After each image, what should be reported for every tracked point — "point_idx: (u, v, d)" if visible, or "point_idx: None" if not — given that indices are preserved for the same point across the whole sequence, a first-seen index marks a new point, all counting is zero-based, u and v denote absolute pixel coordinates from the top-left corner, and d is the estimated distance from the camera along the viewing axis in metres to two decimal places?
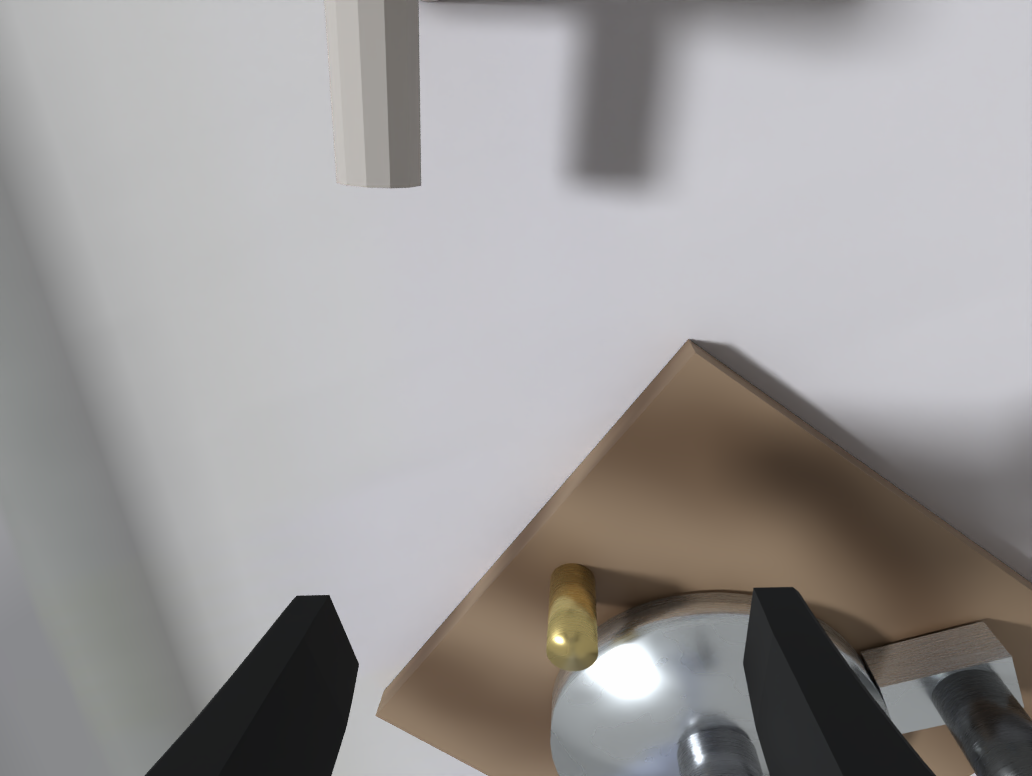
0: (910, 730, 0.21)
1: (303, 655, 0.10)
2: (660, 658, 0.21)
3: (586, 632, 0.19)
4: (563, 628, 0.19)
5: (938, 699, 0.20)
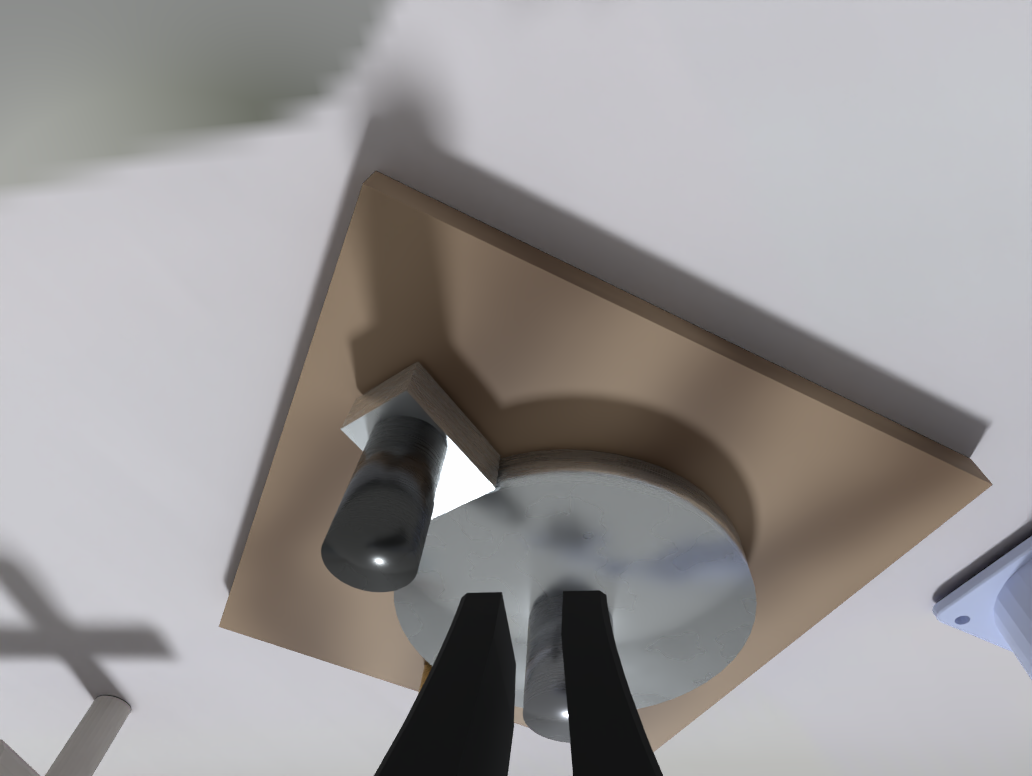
0: (483, 479, 0.18)
1: (493, 654, 0.09)
2: None
3: None
4: None
5: None
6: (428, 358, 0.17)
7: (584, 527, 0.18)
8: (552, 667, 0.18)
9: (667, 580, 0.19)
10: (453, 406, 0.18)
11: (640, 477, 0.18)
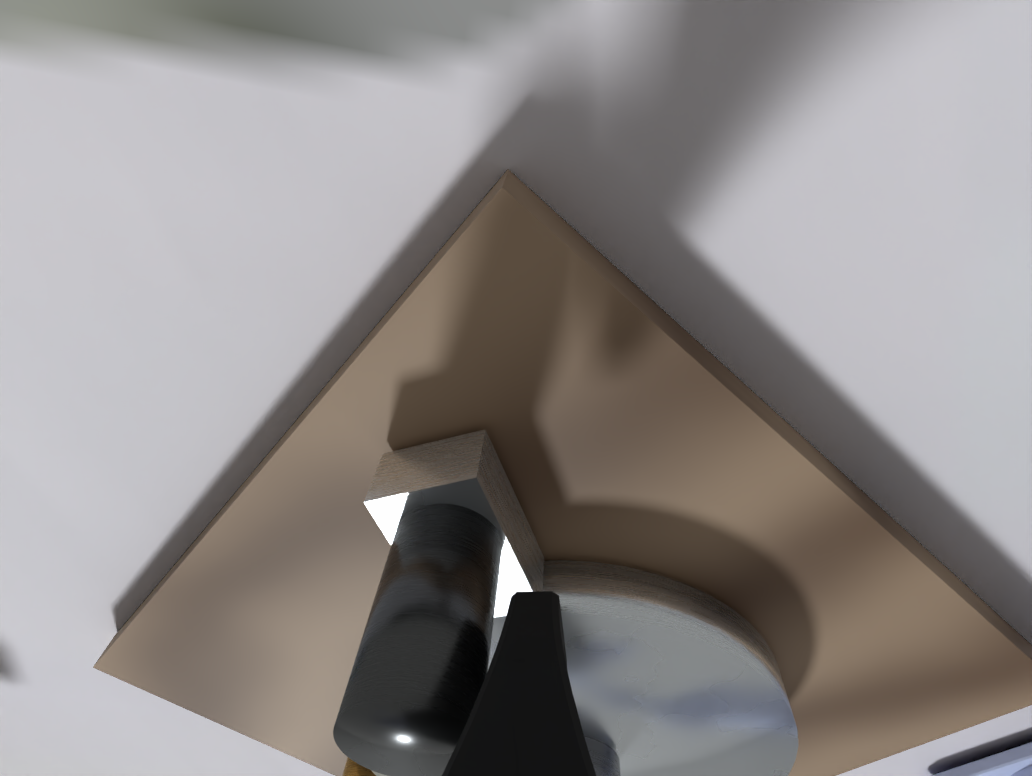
0: None
1: (549, 654, 0.09)
2: None
3: None
4: None
5: None
6: (498, 427, 0.13)
7: (630, 670, 0.15)
8: None
9: (700, 737, 0.16)
10: (511, 492, 0.13)
11: (715, 623, 0.14)
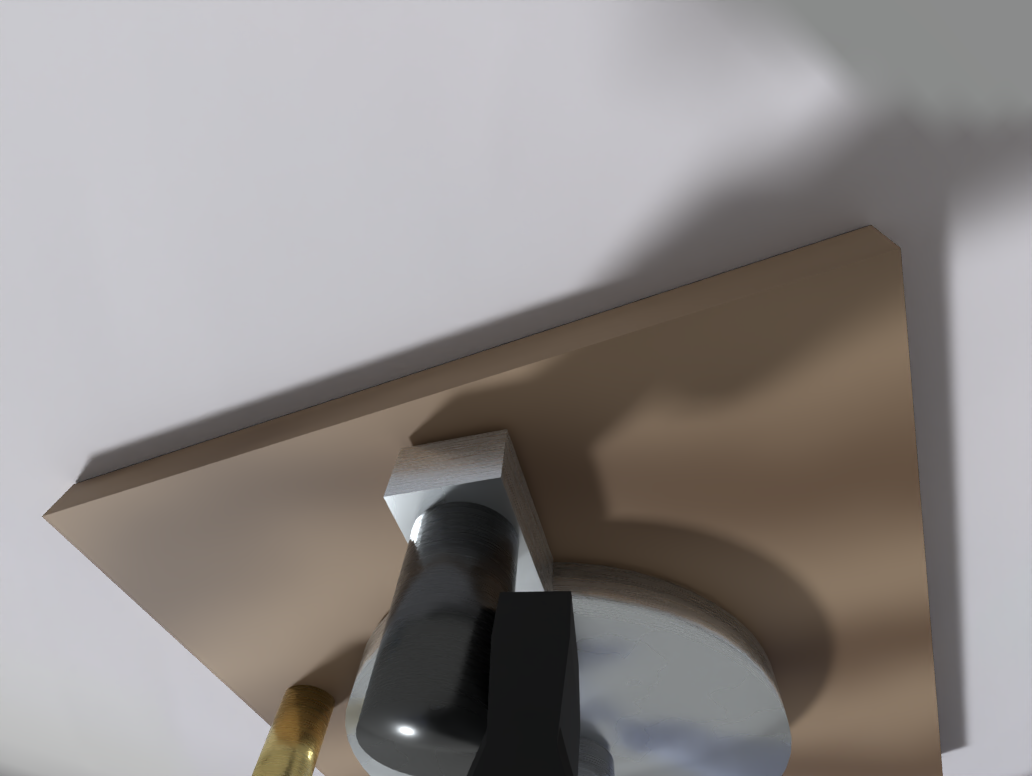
0: None
1: (570, 654, 0.09)
2: None
3: None
4: None
5: None
6: (711, 447, 0.13)
7: (633, 674, 0.15)
8: None
9: (696, 742, 0.16)
10: (527, 493, 0.13)
11: (719, 631, 0.15)
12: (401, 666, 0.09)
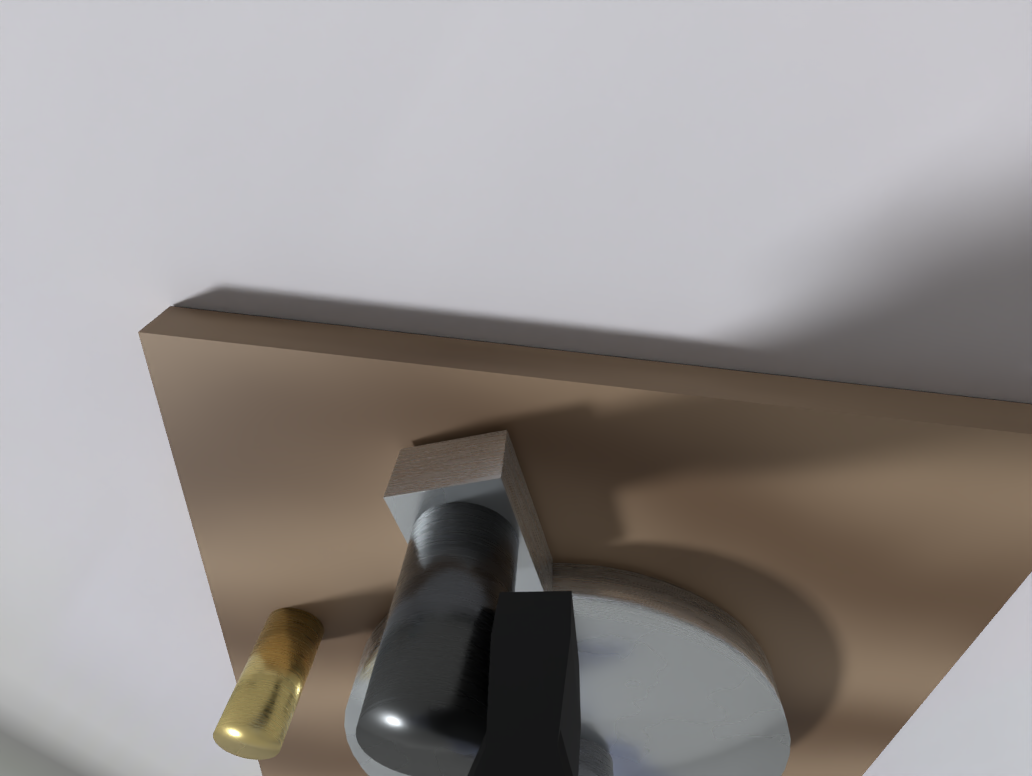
0: None
1: (571, 654, 0.09)
2: None
3: (244, 716, 0.14)
4: (220, 720, 0.15)
5: None
6: (874, 535, 0.14)
7: (633, 675, 0.15)
8: None
9: (695, 743, 0.16)
10: (527, 494, 0.13)
11: (718, 632, 0.15)
12: (401, 666, 0.09)
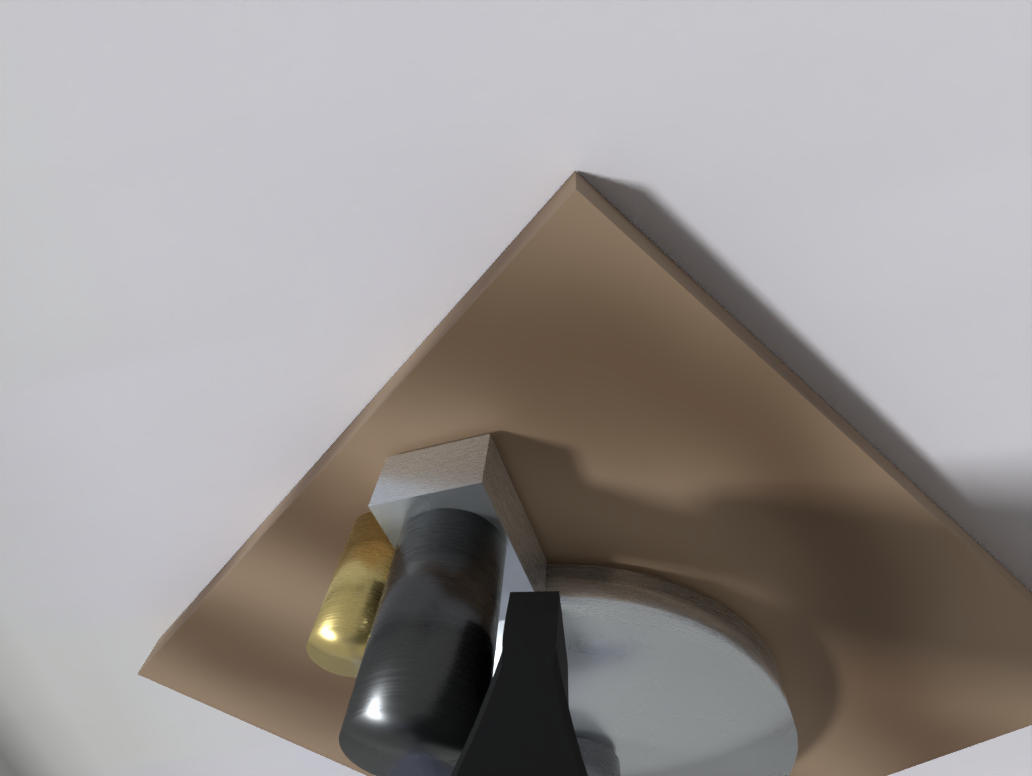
0: None
1: (557, 654, 0.09)
2: None
3: (368, 628, 0.12)
4: (332, 620, 0.12)
5: None
6: (931, 677, 0.17)
7: (632, 674, 0.15)
8: None
9: (700, 741, 0.16)
10: (515, 496, 0.13)
11: (716, 628, 0.14)
12: (381, 675, 0.09)
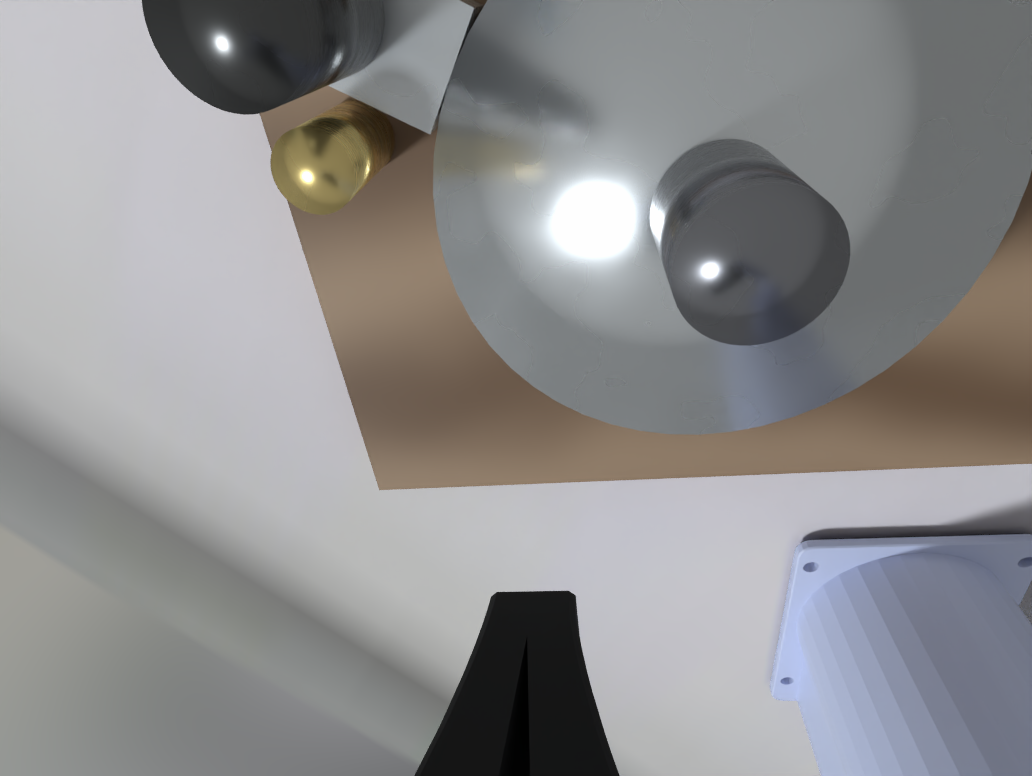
0: None
1: (527, 655, 0.09)
2: (612, 387, 0.16)
3: None
4: None
5: (363, 67, 0.12)
6: None
7: None
8: None
9: (830, 23, 0.11)
10: None
11: None
12: None
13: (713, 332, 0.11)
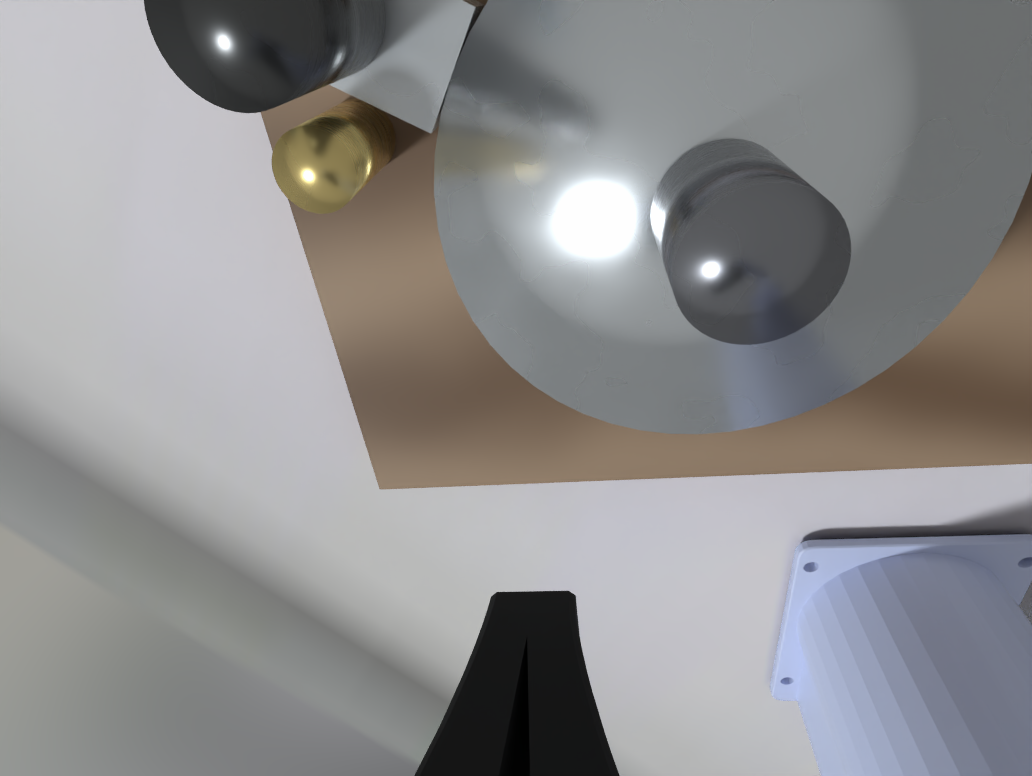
0: None
1: (527, 654, 0.09)
2: (612, 386, 0.16)
3: (304, 126, 0.11)
4: None
5: (364, 66, 0.12)
6: None
7: None
8: (811, 186, 0.10)
9: (831, 22, 0.11)
10: None
11: None
12: None
13: (714, 331, 0.11)
